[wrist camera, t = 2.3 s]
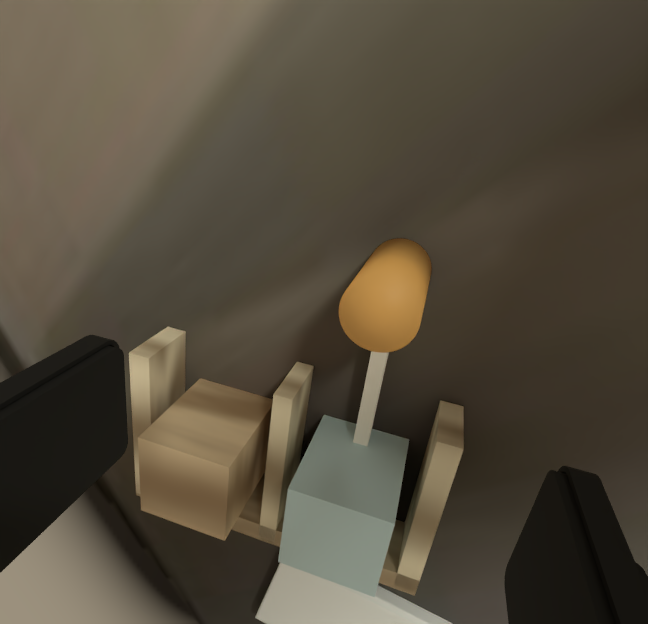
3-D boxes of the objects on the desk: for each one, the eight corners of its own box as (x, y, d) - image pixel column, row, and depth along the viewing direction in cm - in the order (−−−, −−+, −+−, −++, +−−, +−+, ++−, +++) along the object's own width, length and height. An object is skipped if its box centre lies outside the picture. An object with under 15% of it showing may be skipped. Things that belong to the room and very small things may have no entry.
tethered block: (354, 228, 21) (318, 261, 16) (460, 249, 20) (459, 292, 15) (313, 479, 28) (278, 562, 23) (391, 504, 27) (374, 597, 22)
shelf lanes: (167, 326, 27) (129, 352, 24) (463, 406, 23) (463, 449, 20) (169, 458, 31) (136, 495, 28) (420, 542, 27) (414, 595, 24)
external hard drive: (292, 533, 31) (462, 620, 30) (262, 599, 35) (412, 680, 33) (284, 553, 30) (462, 645, 28) (253, 620, 33) (409, 705, 32)
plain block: (200, 377, 28) (137, 437, 22) (276, 399, 27) (229, 467, 21) (198, 441, 30) (141, 510, 24) (269, 464, 29) (224, 541, 23)
